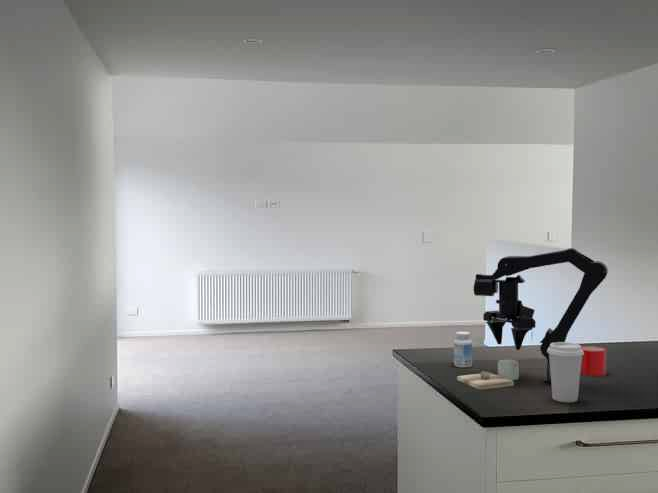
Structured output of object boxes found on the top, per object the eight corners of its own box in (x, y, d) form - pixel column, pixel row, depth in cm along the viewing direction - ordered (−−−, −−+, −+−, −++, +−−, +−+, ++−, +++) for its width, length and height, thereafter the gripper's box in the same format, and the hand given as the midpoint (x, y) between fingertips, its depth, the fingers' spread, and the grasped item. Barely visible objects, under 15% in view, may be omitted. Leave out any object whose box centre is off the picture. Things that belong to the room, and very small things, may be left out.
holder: (513, 385, 193) (513, 374, 192) (479, 389, 188) (479, 378, 188) (489, 376, 204) (489, 365, 204) (457, 380, 199) (457, 369, 199)
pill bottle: (471, 363, 220) (471, 331, 220) (473, 368, 214) (473, 334, 214) (453, 363, 221) (453, 330, 220) (454, 367, 215) (454, 334, 214)
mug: (571, 366, 215) (571, 343, 214) (609, 372, 207) (609, 348, 206) (562, 371, 209) (562, 347, 208) (600, 377, 201) (601, 352, 200)
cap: (522, 378, 200) (522, 362, 200) (506, 381, 198) (506, 364, 197) (510, 374, 205) (510, 358, 205) (494, 376, 203) (494, 360, 203)
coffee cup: (574, 393, 183) (575, 341, 182) (589, 403, 174) (590, 348, 173) (541, 394, 183) (541, 341, 182) (554, 404, 173) (554, 349, 173)
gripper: (550, 298, 194) (550, 350, 195) (511, 292, 212) (511, 339, 213) (519, 301, 190) (519, 353, 191) (482, 294, 208) (482, 342, 209)
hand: (508, 347), depth 201 cm, fingers open, 9 cm apart
